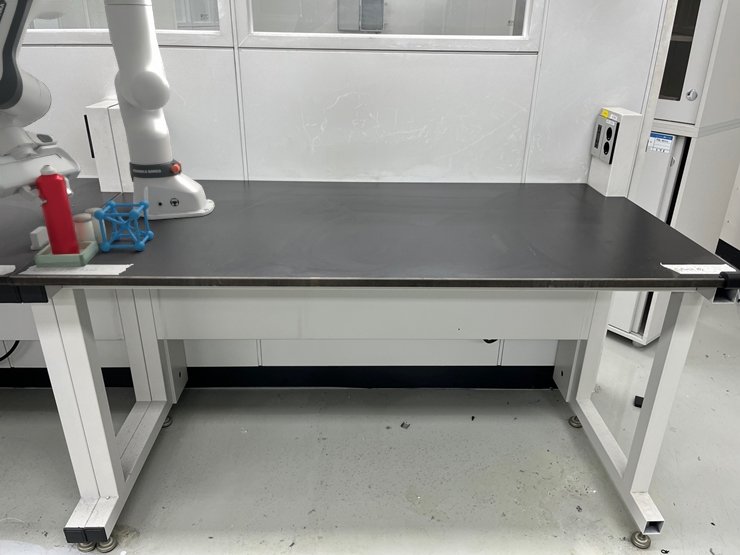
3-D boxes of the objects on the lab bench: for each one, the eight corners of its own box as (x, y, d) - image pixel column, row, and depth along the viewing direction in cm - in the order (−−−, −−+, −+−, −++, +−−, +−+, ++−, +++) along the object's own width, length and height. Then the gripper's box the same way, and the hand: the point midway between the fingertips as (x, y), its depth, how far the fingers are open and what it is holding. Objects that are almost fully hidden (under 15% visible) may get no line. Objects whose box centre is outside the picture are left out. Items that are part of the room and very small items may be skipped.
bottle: (49, 259, 121) (27, 168, 113) (57, 251, 126) (37, 163, 118) (75, 258, 122) (56, 168, 114) (83, 249, 127) (65, 162, 119)
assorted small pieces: (113, 235, 139) (108, 204, 136) (84, 265, 121) (77, 231, 118) (47, 236, 138) (40, 205, 134) (8, 267, 119) (-2, 232, 116)
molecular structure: (113, 238, 137) (106, 199, 133) (155, 237, 138) (149, 198, 134) (99, 253, 128) (91, 211, 124) (144, 252, 129) (137, 211, 125)
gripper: (-30, 149, 108) (17, 204, 108) (59, 134, 125) (100, 181, 126) (-40, 169, 111) (6, 222, 112) (49, 152, 128) (89, 198, 129)
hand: (57, 200), depth 119 cm, fingers closed on bottle, 5 cm apart
